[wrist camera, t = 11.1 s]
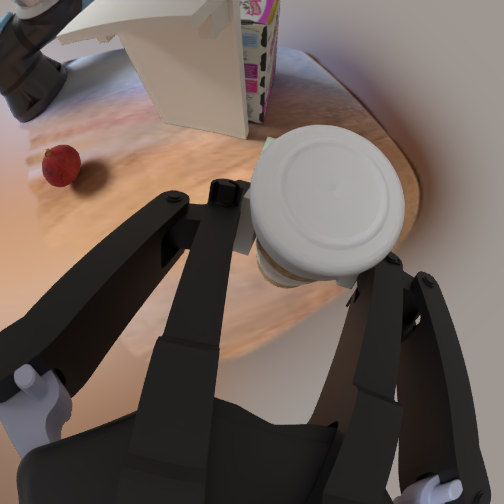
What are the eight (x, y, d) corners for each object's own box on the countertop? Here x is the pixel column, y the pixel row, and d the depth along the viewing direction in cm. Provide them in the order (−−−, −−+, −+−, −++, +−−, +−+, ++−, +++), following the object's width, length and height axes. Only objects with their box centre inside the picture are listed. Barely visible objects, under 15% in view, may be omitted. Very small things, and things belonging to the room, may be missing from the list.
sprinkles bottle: (281, 216, 21) (312, 95, 7) (329, 254, 20) (431, 185, 7) (243, 263, 20) (211, 199, 7) (291, 302, 20) (355, 314, 6)
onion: (81, 196, 32) (47, 175, 24) (56, 192, 32) (23, 172, 25) (95, 159, 33) (66, 132, 25) (70, 157, 33) (41, 133, 25)
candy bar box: (265, 125, 33) (268, 24, 17) (228, 120, 33) (210, 22, 17) (277, 71, 34) (282, -17, 18) (244, 67, 35) (238, -19, 19)
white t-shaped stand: (146, 156, 33) (56, 36, 11) (167, 116, 34) (107, -10, 12) (230, 177, 32) (191, 15, 10) (248, 132, 33) (237, -25, 11)
